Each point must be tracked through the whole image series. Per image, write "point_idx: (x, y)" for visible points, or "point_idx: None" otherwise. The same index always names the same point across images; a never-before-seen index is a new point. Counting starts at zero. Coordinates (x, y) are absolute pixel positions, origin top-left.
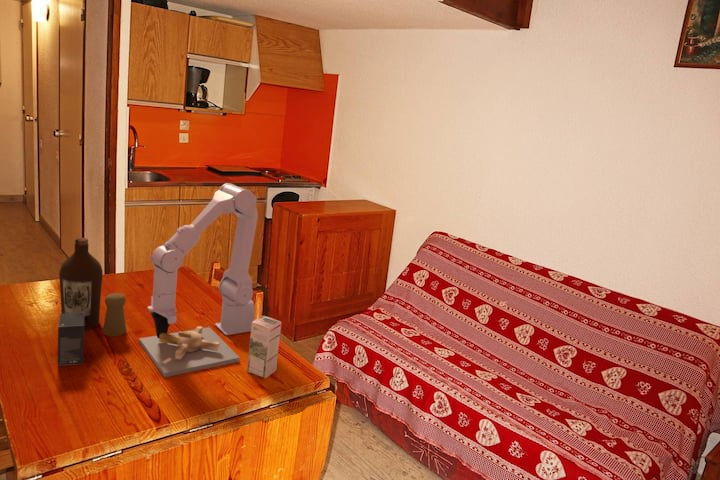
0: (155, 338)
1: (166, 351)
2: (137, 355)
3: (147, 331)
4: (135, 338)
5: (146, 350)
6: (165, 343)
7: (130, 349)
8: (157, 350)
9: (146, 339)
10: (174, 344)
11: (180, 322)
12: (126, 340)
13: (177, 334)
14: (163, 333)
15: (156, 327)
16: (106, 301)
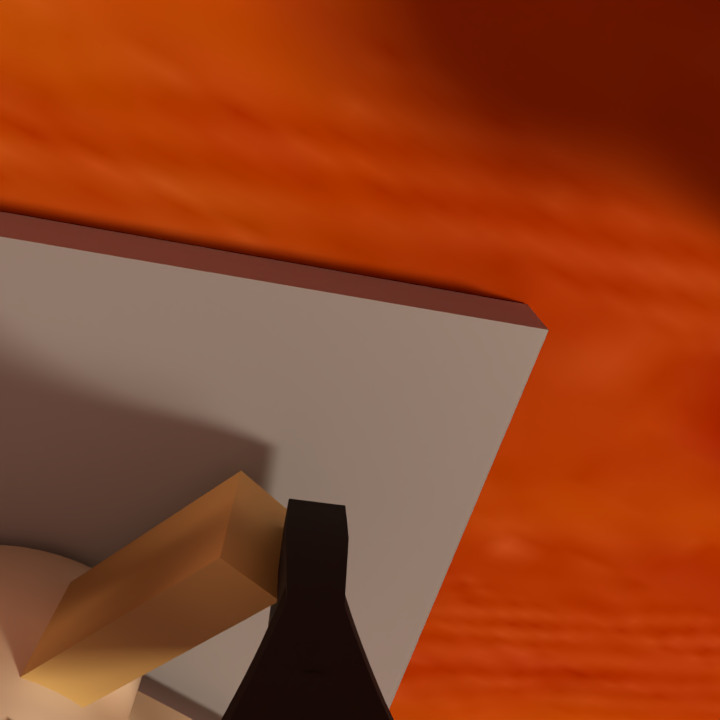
0: (416, 475)
1: (20, 432)
2: (194, 99)
3: (682, 481)
4: (651, 317)
5: (218, 260)
6: None
7: (427, 106)
8: (85, 360)
9: (462, 388)
10: None
11: (600, 703)
12: (697, 197)
13: (370, 643)
14: (246, 608)
15: (285, 658)
16: None
